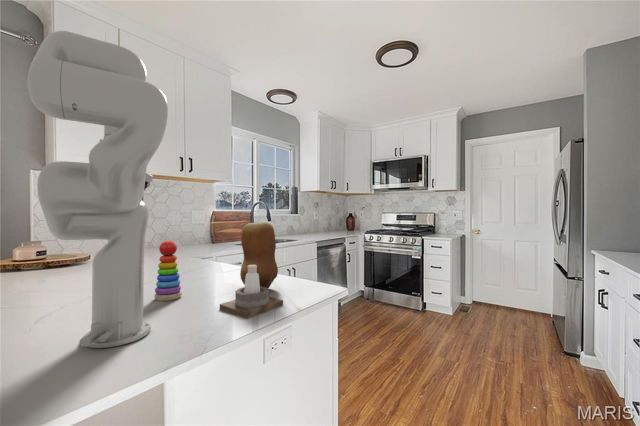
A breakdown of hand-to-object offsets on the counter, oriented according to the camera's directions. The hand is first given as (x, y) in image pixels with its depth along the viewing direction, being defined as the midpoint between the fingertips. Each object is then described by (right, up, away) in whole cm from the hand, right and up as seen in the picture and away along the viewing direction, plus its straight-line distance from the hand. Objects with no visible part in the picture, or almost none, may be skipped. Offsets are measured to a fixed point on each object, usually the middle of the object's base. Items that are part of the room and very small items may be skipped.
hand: (120, 204), depth 81 cm
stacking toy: (+7, -31, +12) cm, 34 cm away
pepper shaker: (+37, -29, +4) cm, 47 cm away
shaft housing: (+37, -31, +4) cm, 48 cm away
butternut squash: (+35, -31, +21) cm, 52 cm away
